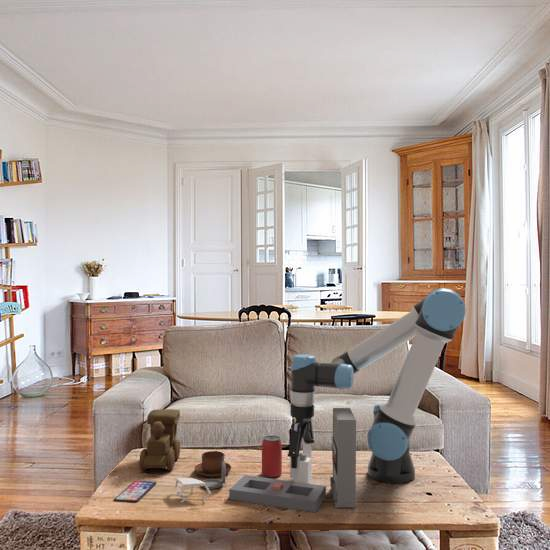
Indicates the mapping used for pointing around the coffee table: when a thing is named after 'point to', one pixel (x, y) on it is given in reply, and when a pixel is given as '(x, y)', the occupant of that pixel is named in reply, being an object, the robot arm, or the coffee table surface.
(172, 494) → the coffee table surface
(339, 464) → the upright grey rectangular panel
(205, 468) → the cup and saucer
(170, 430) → the wooden toy train
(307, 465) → the plug
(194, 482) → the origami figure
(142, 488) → the smartphone
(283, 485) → the power strip
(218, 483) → the pocket watch
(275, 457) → the beer can
